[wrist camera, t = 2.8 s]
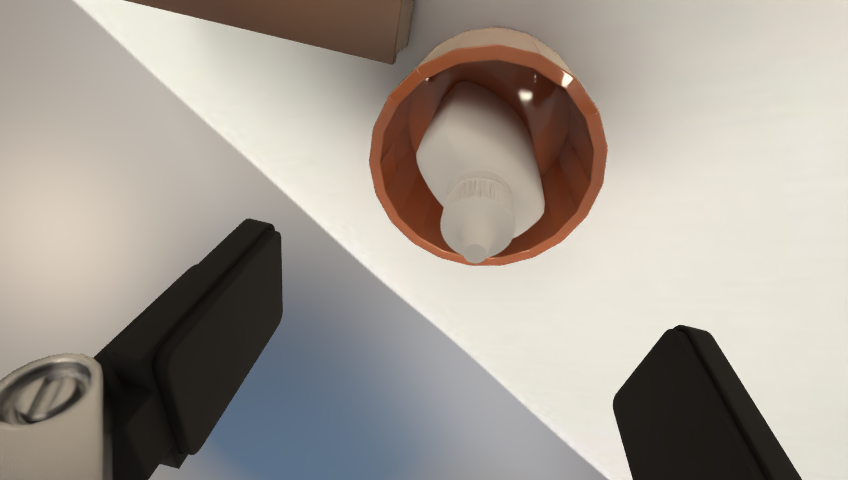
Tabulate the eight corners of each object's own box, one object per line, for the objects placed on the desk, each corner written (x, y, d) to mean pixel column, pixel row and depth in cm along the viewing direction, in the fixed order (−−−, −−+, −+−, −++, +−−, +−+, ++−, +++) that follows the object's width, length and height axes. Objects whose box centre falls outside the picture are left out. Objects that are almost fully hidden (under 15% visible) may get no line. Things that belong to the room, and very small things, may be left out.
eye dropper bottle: (463, 183, 23) (437, 331, 13) (431, 90, 21) (369, 190, 11) (538, 162, 22) (569, 311, 12) (512, 60, 19) (527, 143, 9)
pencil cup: (417, 7, 19) (385, 17, 14) (611, 52, 19) (656, 81, 13) (390, 181, 24) (360, 238, 19) (540, 219, 24) (551, 286, 19)
